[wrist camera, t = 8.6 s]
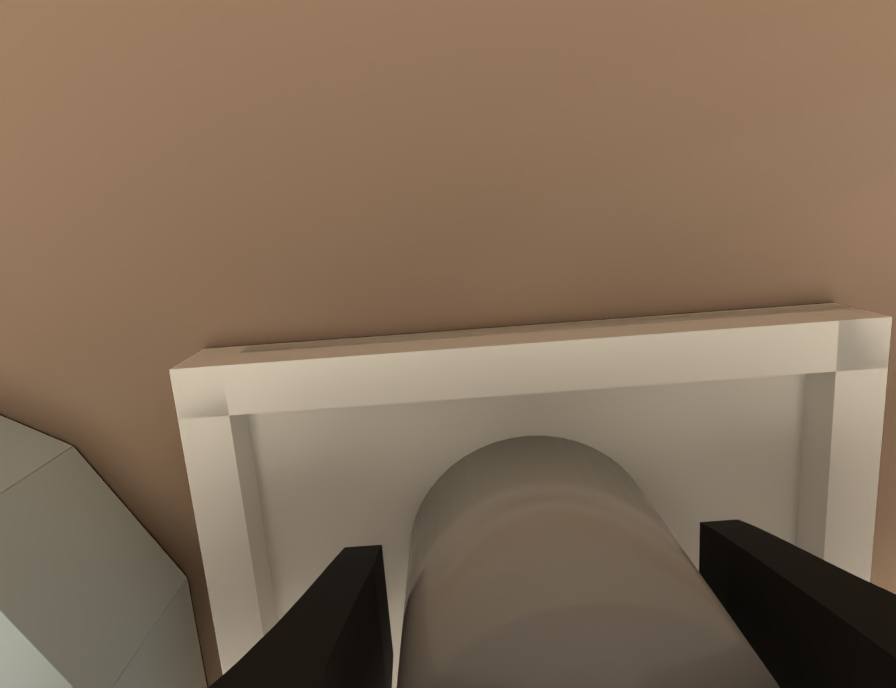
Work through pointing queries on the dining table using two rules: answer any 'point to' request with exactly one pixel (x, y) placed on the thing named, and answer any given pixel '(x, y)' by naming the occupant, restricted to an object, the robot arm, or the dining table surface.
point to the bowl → (83, 580)
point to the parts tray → (526, 414)
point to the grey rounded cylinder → (558, 582)
